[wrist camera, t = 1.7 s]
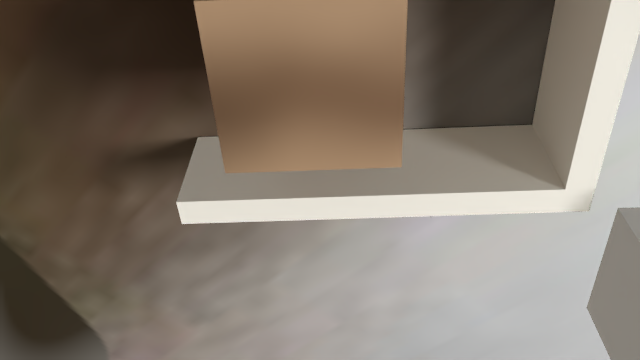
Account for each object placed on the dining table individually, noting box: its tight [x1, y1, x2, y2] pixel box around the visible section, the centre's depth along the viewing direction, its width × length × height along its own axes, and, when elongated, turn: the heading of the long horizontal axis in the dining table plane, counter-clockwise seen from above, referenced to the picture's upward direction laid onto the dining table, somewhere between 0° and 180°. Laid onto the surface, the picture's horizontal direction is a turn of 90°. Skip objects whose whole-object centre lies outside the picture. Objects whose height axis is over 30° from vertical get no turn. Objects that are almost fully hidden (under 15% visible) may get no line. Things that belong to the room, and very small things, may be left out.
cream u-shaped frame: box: [176, 0, 640, 224], centre depth 23 cm, size 17×15×5 cm
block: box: [194, 0, 408, 173], centre depth 22 cm, size 6×6×8 cm
